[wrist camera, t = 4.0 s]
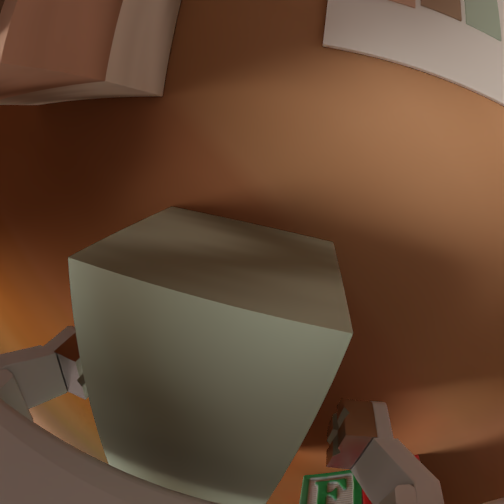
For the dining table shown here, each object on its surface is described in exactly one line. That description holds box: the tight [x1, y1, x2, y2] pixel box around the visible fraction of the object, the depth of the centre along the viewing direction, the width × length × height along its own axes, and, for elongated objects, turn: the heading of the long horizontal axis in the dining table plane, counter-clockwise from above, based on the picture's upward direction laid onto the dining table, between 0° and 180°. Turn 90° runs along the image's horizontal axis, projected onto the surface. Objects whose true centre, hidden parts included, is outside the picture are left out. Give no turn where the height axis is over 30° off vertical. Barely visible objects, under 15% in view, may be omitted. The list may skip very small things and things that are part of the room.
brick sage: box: [68, 207, 353, 504], centre depth 9 cm, size 5×10×5 cm, turn 170°
